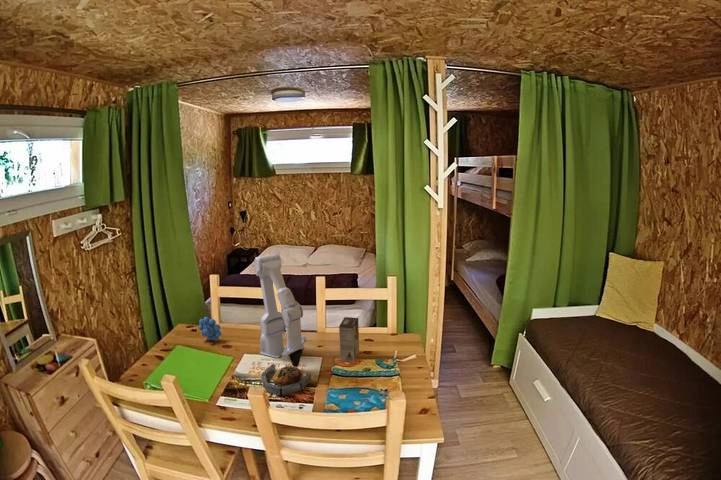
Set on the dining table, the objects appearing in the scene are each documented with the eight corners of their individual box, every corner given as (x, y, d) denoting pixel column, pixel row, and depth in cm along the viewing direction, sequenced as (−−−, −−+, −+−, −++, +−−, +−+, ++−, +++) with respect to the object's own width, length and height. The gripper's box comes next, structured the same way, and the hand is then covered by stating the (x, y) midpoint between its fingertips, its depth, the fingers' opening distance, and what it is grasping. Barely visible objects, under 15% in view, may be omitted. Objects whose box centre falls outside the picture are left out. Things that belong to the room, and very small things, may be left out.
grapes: (194, 343, 162) (191, 320, 160) (203, 336, 169) (201, 313, 166) (216, 346, 160) (213, 322, 157) (225, 339, 166) (222, 315, 163)
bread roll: (300, 386, 129) (297, 374, 129) (270, 390, 130) (268, 378, 129) (304, 370, 140) (302, 359, 140) (277, 374, 141) (274, 363, 140)
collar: (252, 387, 129) (251, 381, 129) (272, 369, 140) (272, 364, 140) (293, 399, 123) (293, 392, 122) (311, 379, 134) (310, 373, 133)
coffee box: (345, 349, 155) (344, 316, 151) (359, 351, 153) (358, 317, 150) (339, 361, 146) (338, 325, 143) (354, 362, 145) (354, 327, 141)
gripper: (292, 345, 129) (294, 378, 132) (312, 328, 142) (313, 358, 145) (276, 341, 131) (278, 374, 134) (297, 325, 144) (299, 355, 147)
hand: (295, 365), depth 140 cm, fingers closed
